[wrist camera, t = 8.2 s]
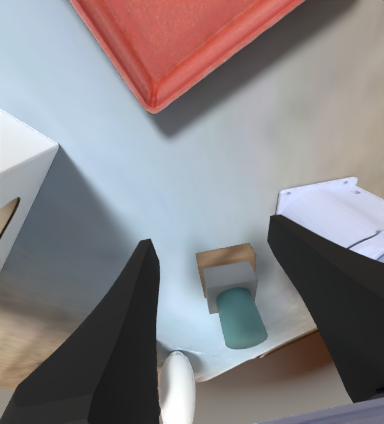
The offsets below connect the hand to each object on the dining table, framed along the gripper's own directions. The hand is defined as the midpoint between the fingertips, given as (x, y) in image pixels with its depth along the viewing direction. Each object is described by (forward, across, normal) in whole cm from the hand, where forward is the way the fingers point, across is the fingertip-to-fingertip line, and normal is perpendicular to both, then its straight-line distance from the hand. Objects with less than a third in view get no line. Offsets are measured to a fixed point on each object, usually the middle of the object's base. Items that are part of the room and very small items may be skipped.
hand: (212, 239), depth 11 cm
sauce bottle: (+11, +11, +46) cm, 48 cm away
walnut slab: (+11, -3, +16) cm, 20 cm away
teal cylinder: (+5, -3, +16) cm, 17 cm away
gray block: (+8, -2, +16) cm, 18 cm away
